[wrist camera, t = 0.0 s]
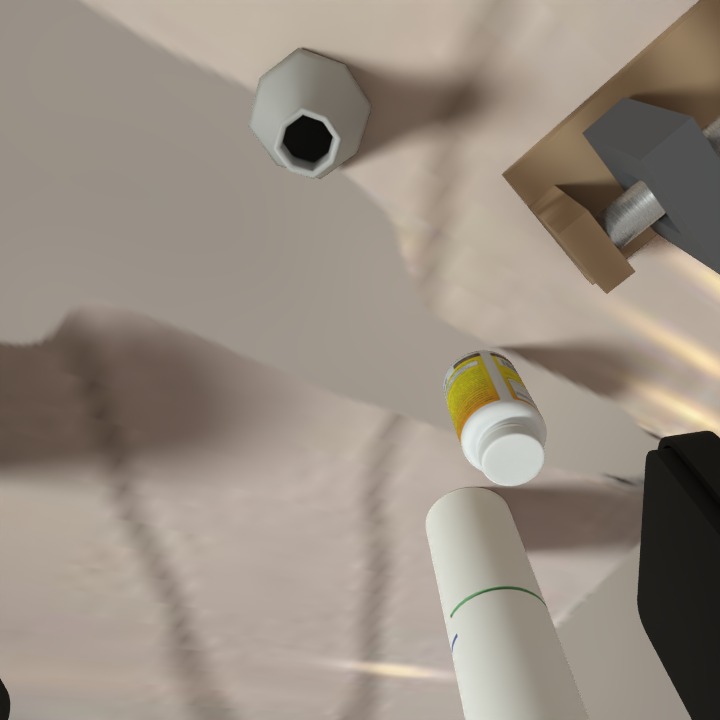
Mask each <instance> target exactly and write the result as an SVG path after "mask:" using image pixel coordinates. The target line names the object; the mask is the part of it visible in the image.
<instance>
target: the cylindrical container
mask: <svg viewBox="0 0 720 720" xmlns="http://www.w3.org/2000/svg"><path fill="white" fill-rule="evenodd" d="M426 531H427V536H428V541H429V545H430V550H431V555H432V560H433V565H434V570H435V575H436V579H437V584H438V589H439V594H440V599H441V604H442V608H443V613H444V618H445V623H446V628H447V633H448V637H449V642H450V647H451V652H452V656H453V662H454V667H455V671H456V676H457V681H458V686H459V691H460V696H461V700H462V705H463V710H464V715H465V720H590V719H589V716H588V714H587V712H586V709H585V706H584V703H583V701H582V698H581V695H580V693H579V690H578V688H577V685H576V683H575V680H574V677H573V675H572V672H571V669H570V667H569V664H568V661H567V659H566V656H565V653H564V651H563V648H562V646H561V643H560V640H559V638H558V635H557V633H556V630H555V627H554V625H553V622H552V619H551V617H550V614H549V612H548V609H547V606H546V604H545V601H544V598H543V596H542V593H541V591H540V588H539V585H538V583H537V580H536V578H535V575H534V572H533V570H532V567H531V565H530V562H529V559H528V557H527V554H526V551H525V549H524V546H523V544H522V541H521V538H520V536H519V533H518V531H517V528H516V525H515V523H514V520H513V517H512V515H511V512H510V510H509V507H508V505H507V503H506V502H505V500H504V499H503V498H502V497H501V496H499V495H498V494H496V493H495V492H493V491H491V490H488V489H484V488H478V487H468V488H461V489H458V490H455V491H452V492H450V493H448V494H446V495H444V496H443V497H441V498H440V499H439V500H437V502H436V503H435V504H434V505H433V506H432V507H431V509H430V511H429V512H428V515H427V518H426Z"/></svg>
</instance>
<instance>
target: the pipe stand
mask: <svg viewBox="0 0 720 720" xmlns="http://www.w3.org/2000/svg"><path fill="white" fill-rule="evenodd" d="M623 97H625V98H628V99H632V100H635V101H639V102H642V103H646V104H650V105H653V106H657V107H660V108H664V109H667V110H671V111H674V112H678V113H682V114H685V115H689V116H692V117H693V118H694V120H695V121H696V123H697V124H698V126H699V127H700V129H703V128H704V127H705V126H706V125H708V124H709V123H710V122H711V121H712V120H714V119H715V118H716V117H717V116H719V115H720V0H700V1H698V2H697V3H696V4H695V5H694V6H693V7H692V8H690V9H689V10H688V11H687V12H686V13H685V14H684V15H682V16H681V17H680V18H679V19H678V20H677V21H676V22H675V23H673V24H672V25H671V26H670V27H669V28H668V29H667V30H665V31H664V32H663V33H662V34H661V35H660V36H659V37H657V38H656V39H655V40H654V41H653V42H652V43H651V44H650V45H648V46H647V47H646V48H645V49H644V50H643V51H642V52H640V53H639V54H638V55H637V56H636V57H635V58H634V59H632V60H631V61H630V62H629V63H628V64H627V65H626V66H625V67H623V68H622V69H621V70H620V71H619V72H618V73H617V74H615V75H614V76H613V77H612V78H611V79H610V80H609V81H607V82H606V83H605V84H604V85H603V86H602V87H601V88H600V89H598V90H597V91H596V92H595V93H594V94H593V95H592V96H590V97H589V98H588V99H587V100H586V101H585V102H584V103H582V104H581V105H580V106H579V107H578V108H577V109H576V110H575V111H573V112H572V113H571V114H570V115H569V116H568V117H567V118H565V119H564V120H563V121H562V122H561V123H560V124H559V125H557V126H556V127H555V128H554V129H553V130H552V131H551V132H550V133H548V134H547V135H546V136H545V137H544V138H543V139H542V140H540V141H539V142H538V143H537V144H536V145H535V146H534V147H532V148H531V149H530V150H529V151H528V152H527V153H526V154H525V155H523V156H522V157H521V158H520V159H519V160H518V161H517V162H515V163H514V164H513V165H512V166H511V167H510V168H509V169H507V170H506V171H505V172H504V173H503V174H502V175H503V177H504V178H505V179H506V180H507V182H508V183H509V184H510V185H511V186H512V188H513V189H514V190H515V191H516V193H517V194H518V195H519V196H520V198H521V199H522V200H523V201H524V202H525V204H526V205H527V206H528V207H529V209H530V210H531V211H532V212H533V214H534V215H535V216H536V217H537V218H538V220H539V221H540V222H541V223H542V225H543V226H544V227H545V228H546V229H547V231H548V232H549V233H550V234H551V236H552V237H553V238H554V239H555V241H556V242H557V243H558V244H559V245H560V247H561V248H562V249H563V250H564V252H565V253H566V254H567V255H568V257H569V258H570V259H571V260H572V261H573V263H574V264H575V265H576V266H577V268H578V269H579V270H580V271H581V273H582V274H583V275H584V276H585V277H586V279H587V280H588V281H589V282H590V283H591V284H592V285H593V284H595V283H596V284H597V285H598V286H599V287H600V288H601V289H602V290H603V291H604V292H605V293H606V294H607V293H609V292H610V291H611V290H612V289H614V288H615V287H616V286H618V285H619V284H620V283H621V282H623V281H624V280H625V279H627V278H628V277H629V276H630V275H632V274H633V273H634V272H635V271H634V269H633V268H632V267H631V265H630V264H629V263H628V261H627V260H626V259H627V258H628V257H629V256H630V255H632V254H633V253H634V252H635V251H637V250H638V249H639V248H640V247H642V246H643V245H644V244H646V243H647V242H648V241H649V240H651V239H652V238H653V237H654V236H656V235H657V233H656V232H654V231H653V229H652V228H651V227H650V226H649V227H648V228H646V229H645V230H644V231H643V232H641V233H640V234H639V235H638V236H636V237H635V238H634V239H632V240H631V241H630V242H629V243H627V244H626V245H625V246H624V247H622V248H621V249H620V250H618V249H617V247H616V246H615V245H614V243H613V242H612V241H611V239H610V238H609V237H608V236H607V234H606V233H605V232H604V230H603V229H602V228H601V226H600V225H599V224H598V223H597V221H596V220H595V219H594V217H595V216H597V215H598V214H599V213H600V212H601V211H603V210H604V209H605V208H606V207H607V206H609V205H610V204H611V203H612V202H614V201H615V200H616V199H617V198H618V197H620V196H621V195H622V194H623V193H625V191H624V190H623V188H622V187H621V186H620V184H619V183H618V182H617V180H616V179H615V178H614V176H613V175H612V173H611V172H610V171H609V169H608V168H607V167H606V165H605V164H604V162H603V161H602V160H601V158H600V157H599V156H598V154H597V153H596V152H595V150H594V149H593V147H592V146H591V145H590V143H589V142H588V141H587V139H586V138H585V137H584V135H583V134H582V133H583V132H584V131H585V130H586V129H587V128H589V127H590V126H591V125H592V124H593V123H594V122H595V121H597V120H598V119H599V118H600V117H601V116H602V115H604V114H605V113H606V112H607V111H608V110H609V109H611V108H612V107H613V106H614V105H615V104H616V103H617V102H619V101H620V100H621V99H622V98H623Z"/></svg>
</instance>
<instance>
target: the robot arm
mask: <svg viewBox="0 0 720 720" xmlns="http://www.w3.org/2000/svg"><path fill="white" fill-rule="evenodd" d="M639 563H640V564H639V580H638V595H637V605H638V611H639V615H640V619H641V622H642V624H643V627H644V629H645V631H646V633H647V635H648V637H649V639H650V641H651V643H652V645H653V647H654V649H655V650H656V652H657V654H658V656H659V658H660V660H661V662H662V664H663V666H664V667H665V669H666V671H667V673H668V675H669V677H670V679H671V681H672V683H673V685H674V686H675V688H676V690H677V692H678V694H679V696H680V698H681V700H682V702H683V704H684V705H685V707H686V709H687V711H688V713H689V715H690V717H691V719H692V720H720V438H719V437H718V436H717V435H716V434H714V433H713V432H711V431H701V432H694V433H688V434H681V435H674V436H668V437H664V438H662V439H661V441H660V443H659V446H658V450H652V451H649V452H648V454H647V456H646V465H645V481H644V497H643V513H642V530H641V546H640V562H639ZM9 713H10V698H9V694H8V691H7V689H6V688H5V686H4V684H3V683H2V681H1V679H0V720H8V718H9Z"/></svg>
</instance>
